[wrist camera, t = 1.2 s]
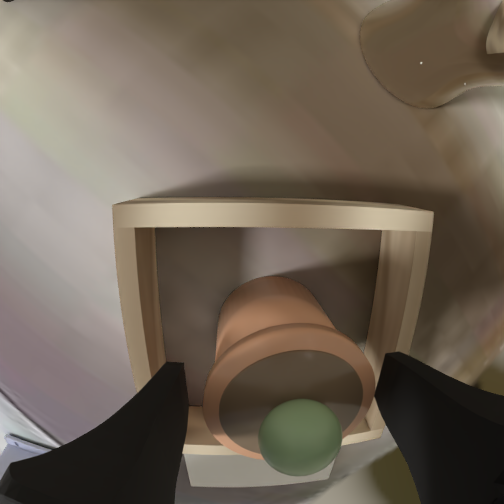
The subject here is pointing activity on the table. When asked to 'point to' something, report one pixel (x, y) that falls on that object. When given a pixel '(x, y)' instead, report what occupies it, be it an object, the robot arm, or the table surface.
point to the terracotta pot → (284, 378)
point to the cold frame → (270, 215)
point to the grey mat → (241, 472)
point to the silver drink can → (434, 48)
